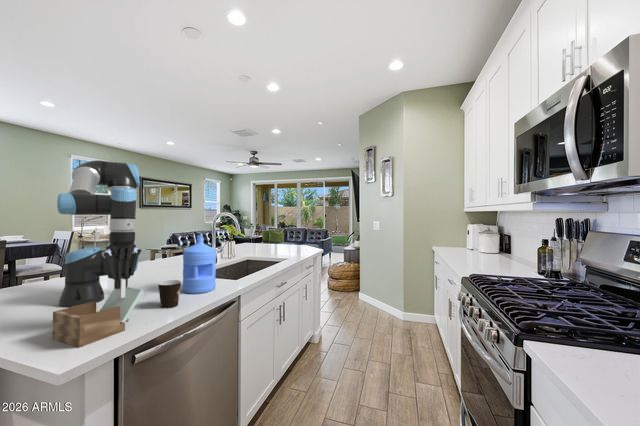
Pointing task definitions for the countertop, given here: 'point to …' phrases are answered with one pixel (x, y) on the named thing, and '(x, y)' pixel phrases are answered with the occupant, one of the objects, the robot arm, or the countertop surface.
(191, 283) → the water jug
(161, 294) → the coffee mug
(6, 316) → the countertop surface
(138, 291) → the cabinet door
